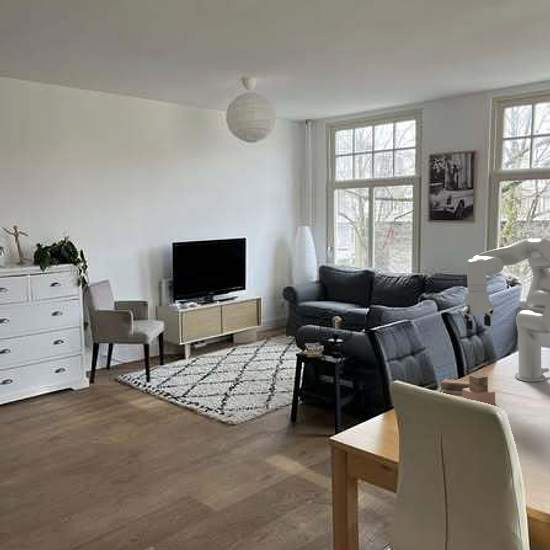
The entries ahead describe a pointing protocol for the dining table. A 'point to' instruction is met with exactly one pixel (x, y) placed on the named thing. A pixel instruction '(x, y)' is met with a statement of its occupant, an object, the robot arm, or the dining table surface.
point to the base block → (479, 395)
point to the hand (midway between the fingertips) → (478, 327)
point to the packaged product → (453, 386)
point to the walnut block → (478, 383)
